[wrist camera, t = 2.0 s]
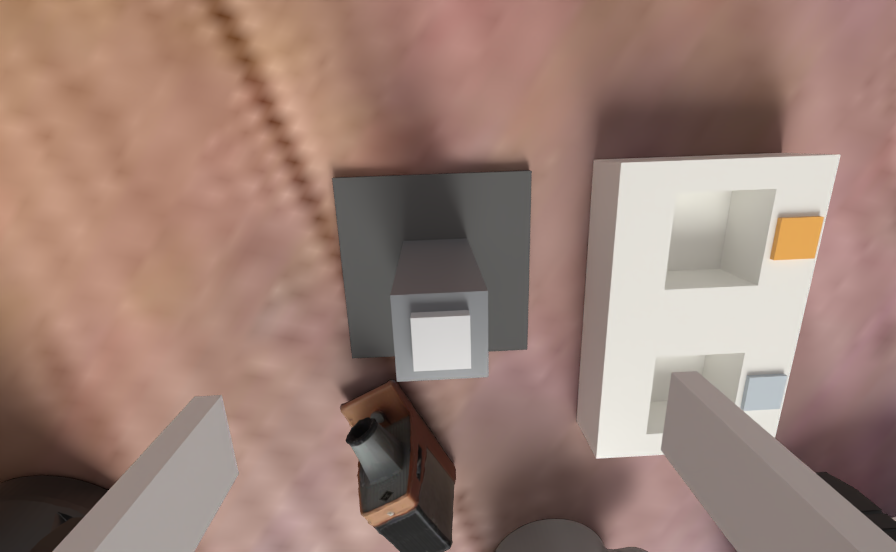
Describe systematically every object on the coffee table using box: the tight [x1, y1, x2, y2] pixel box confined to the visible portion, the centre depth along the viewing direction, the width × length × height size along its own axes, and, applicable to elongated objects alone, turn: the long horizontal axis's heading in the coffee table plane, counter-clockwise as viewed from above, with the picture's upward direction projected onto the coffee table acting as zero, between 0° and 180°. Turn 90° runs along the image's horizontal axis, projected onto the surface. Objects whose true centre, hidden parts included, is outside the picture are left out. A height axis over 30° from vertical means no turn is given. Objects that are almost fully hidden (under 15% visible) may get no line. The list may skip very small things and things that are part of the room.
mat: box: [332, 170, 532, 358], centre depth 28 cm, size 12×12×1 cm
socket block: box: [576, 153, 840, 459], centre depth 28 cm, size 12×19×4 cm, turn 2°
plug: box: [390, 238, 488, 382], centre depth 23 cm, size 4×4×11 cm
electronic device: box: [340, 380, 456, 552], centre depth 29 cm, size 4×10×8 cm, turn 29°
